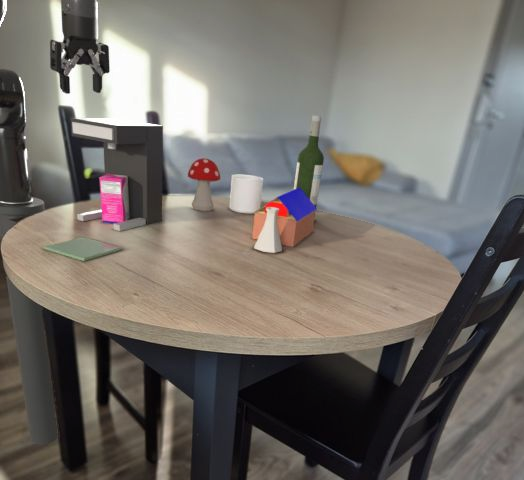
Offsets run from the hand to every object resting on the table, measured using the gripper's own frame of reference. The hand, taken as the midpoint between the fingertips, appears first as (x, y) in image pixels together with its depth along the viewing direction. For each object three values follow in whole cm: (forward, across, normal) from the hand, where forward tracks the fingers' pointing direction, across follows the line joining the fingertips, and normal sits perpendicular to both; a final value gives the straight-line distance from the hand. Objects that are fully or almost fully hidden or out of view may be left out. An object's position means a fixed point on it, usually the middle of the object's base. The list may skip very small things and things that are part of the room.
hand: (81, 92), depth 115 cm
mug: (+30, -46, +21) cm, 59 cm away
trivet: (+23, +21, +29) cm, 42 cm away
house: (+24, -31, +46) cm, 61 cm away
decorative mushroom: (+30, -33, +14) cm, 47 cm away
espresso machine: (+28, -2, +13) cm, 31 cm away
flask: (+22, -16, +52) cm, 58 cm away
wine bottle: (+28, -53, +39) cm, 71 cm away
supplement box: (+28, 0, +13) cm, 31 cm away
